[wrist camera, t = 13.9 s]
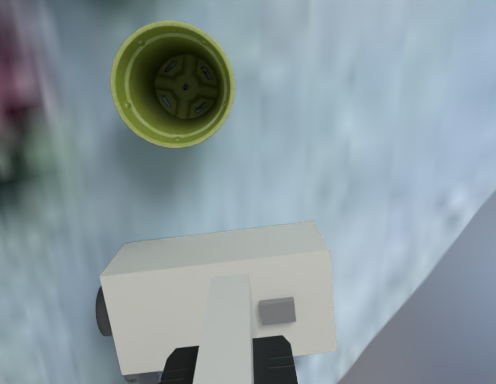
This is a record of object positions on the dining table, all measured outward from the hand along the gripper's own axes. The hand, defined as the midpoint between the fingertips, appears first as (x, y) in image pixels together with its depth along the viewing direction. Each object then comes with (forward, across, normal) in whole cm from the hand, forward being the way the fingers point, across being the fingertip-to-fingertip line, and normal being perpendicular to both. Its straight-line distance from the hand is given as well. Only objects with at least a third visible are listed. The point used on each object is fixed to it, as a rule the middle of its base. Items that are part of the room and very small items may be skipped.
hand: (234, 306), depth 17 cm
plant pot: (+27, -4, +9) cm, 28 cm away
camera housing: (+26, -3, -11) cm, 29 cm away
